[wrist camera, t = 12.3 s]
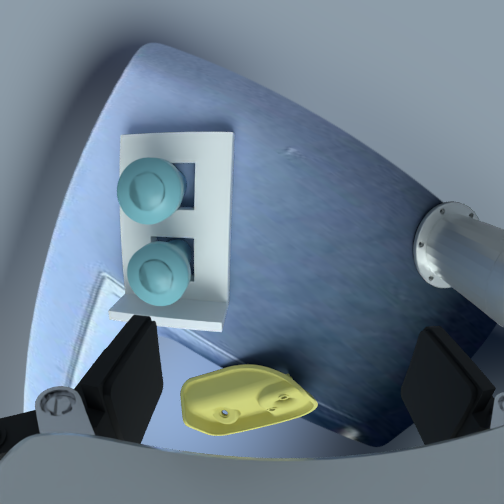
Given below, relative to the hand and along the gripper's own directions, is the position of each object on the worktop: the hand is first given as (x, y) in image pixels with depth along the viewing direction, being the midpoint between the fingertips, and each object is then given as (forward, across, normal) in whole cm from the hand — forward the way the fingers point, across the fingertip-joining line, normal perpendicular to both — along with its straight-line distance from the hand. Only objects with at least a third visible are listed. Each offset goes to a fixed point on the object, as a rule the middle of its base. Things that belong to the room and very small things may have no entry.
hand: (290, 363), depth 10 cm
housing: (+30, +12, +1) cm, 33 cm away
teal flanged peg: (+30, +12, +6) cm, 33 cm away
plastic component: (+31, +2, +28) cm, 42 cm away
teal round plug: (+30, +13, -4) cm, 33 cm away
